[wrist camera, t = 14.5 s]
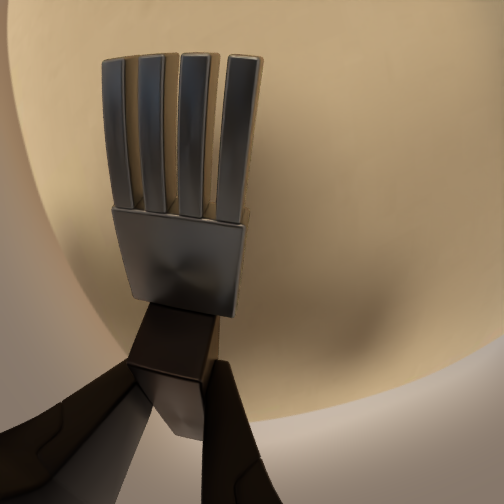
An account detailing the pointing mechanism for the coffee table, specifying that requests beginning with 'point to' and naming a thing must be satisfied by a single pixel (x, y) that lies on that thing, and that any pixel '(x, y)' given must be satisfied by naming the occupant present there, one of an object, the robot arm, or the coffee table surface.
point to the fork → (179, 213)
